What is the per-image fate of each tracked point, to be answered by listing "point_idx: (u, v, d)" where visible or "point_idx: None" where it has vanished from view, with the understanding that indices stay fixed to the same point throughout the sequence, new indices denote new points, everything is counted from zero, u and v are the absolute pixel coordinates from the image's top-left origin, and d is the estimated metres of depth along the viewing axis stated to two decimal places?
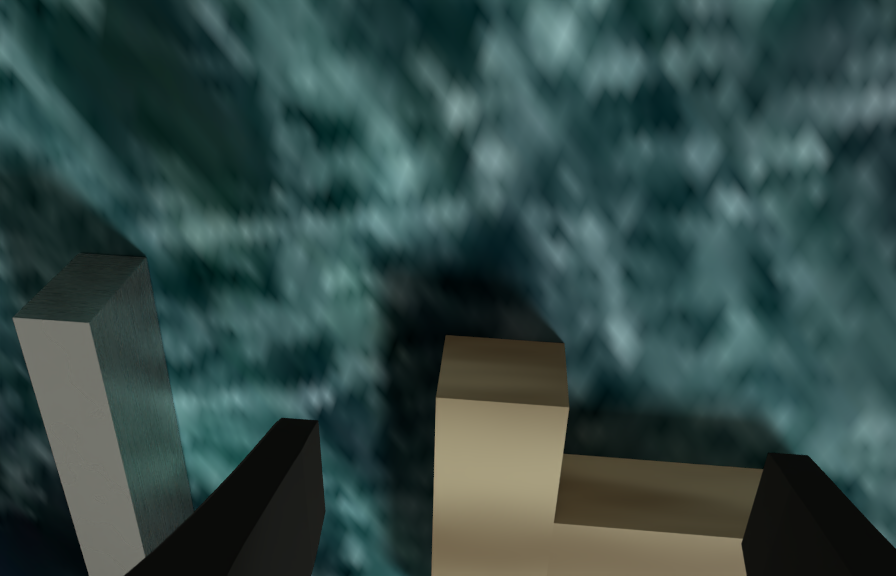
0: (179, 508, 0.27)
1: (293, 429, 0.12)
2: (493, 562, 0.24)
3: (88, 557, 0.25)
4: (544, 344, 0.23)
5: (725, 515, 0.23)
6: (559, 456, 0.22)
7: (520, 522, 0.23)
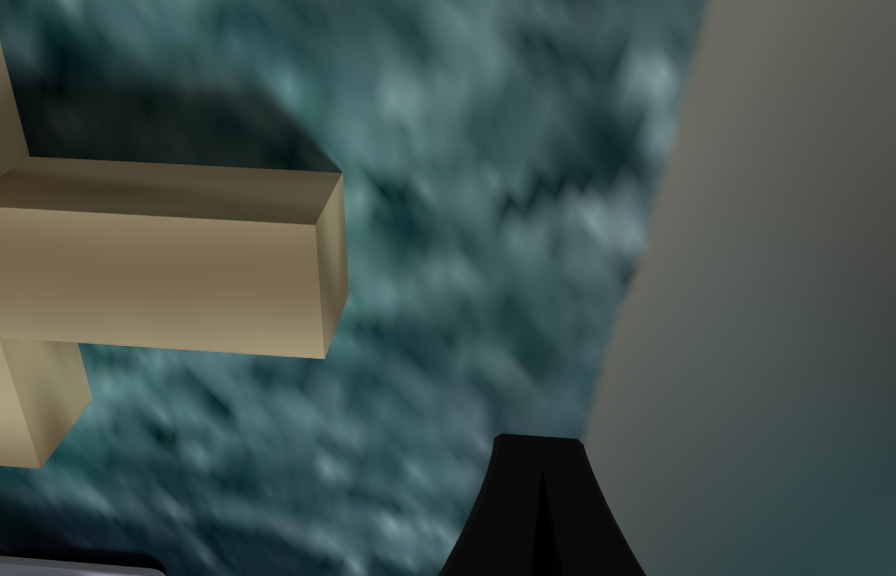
0: None
1: (521, 445, 0.12)
2: None
3: None
4: None
5: (195, 201, 0.18)
6: None
7: None
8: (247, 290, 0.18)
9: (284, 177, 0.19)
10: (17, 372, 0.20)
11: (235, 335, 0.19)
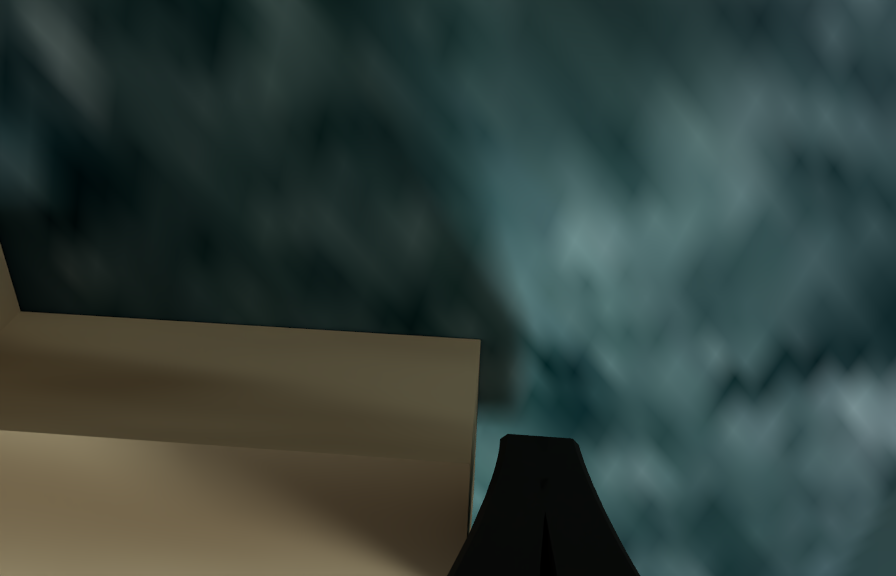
0: None
1: (527, 446, 0.12)
2: None
3: None
4: None
5: (272, 409, 0.12)
6: None
7: None
8: (352, 544, 0.12)
9: (397, 352, 0.13)
10: None
11: None
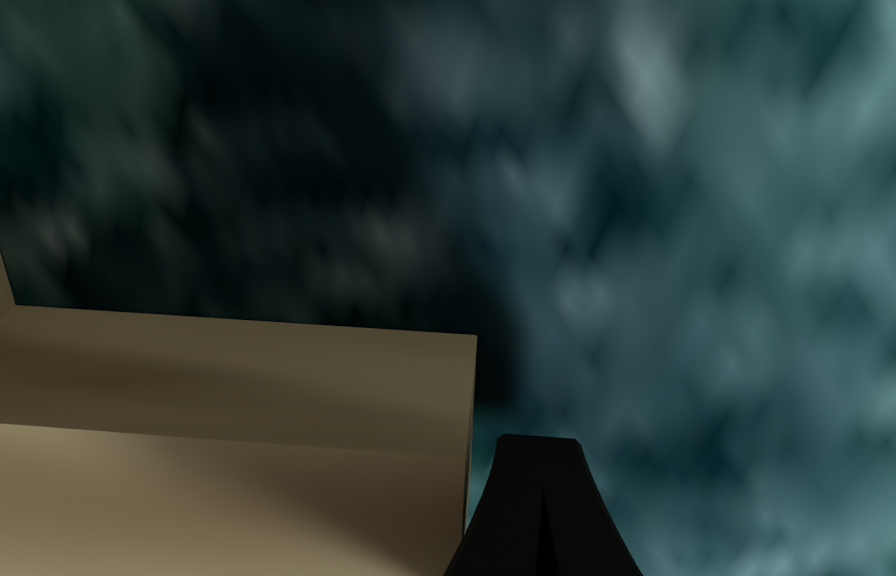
0: None
1: (524, 445, 0.12)
2: None
3: None
4: None
5: (267, 404, 0.12)
6: None
7: None
8: (347, 540, 0.12)
9: (393, 347, 0.13)
10: None
11: None
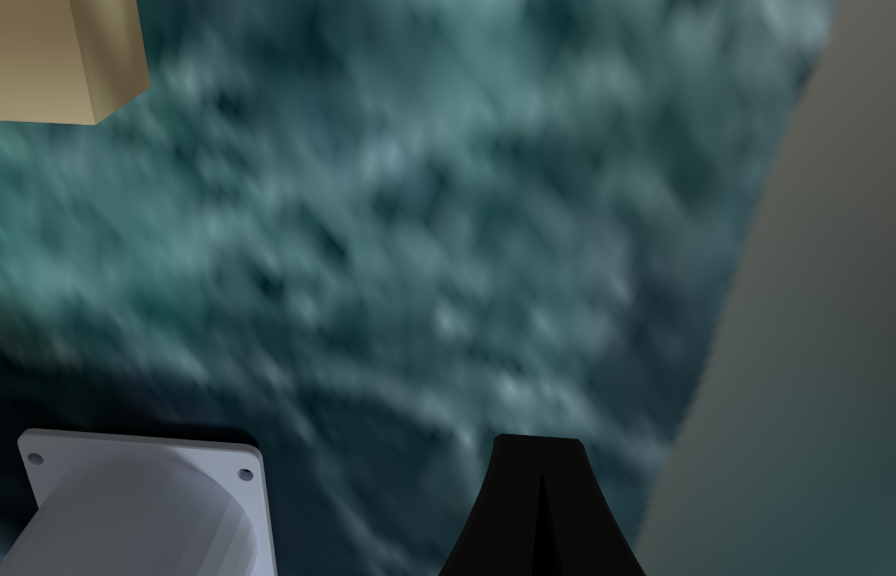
0: None
1: (522, 445, 0.12)
2: None
3: None
4: None
5: None
6: None
7: None
8: (0, 40, 0.17)
9: None
10: None
11: None
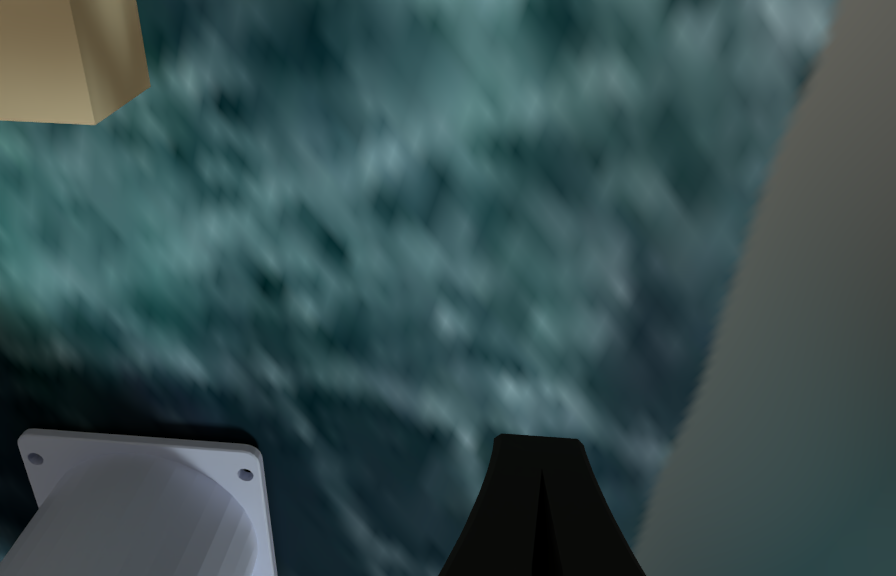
0: None
1: (522, 445, 0.12)
2: None
3: None
4: None
5: None
6: None
7: None
8: (1, 40, 0.17)
9: None
10: None
11: None
